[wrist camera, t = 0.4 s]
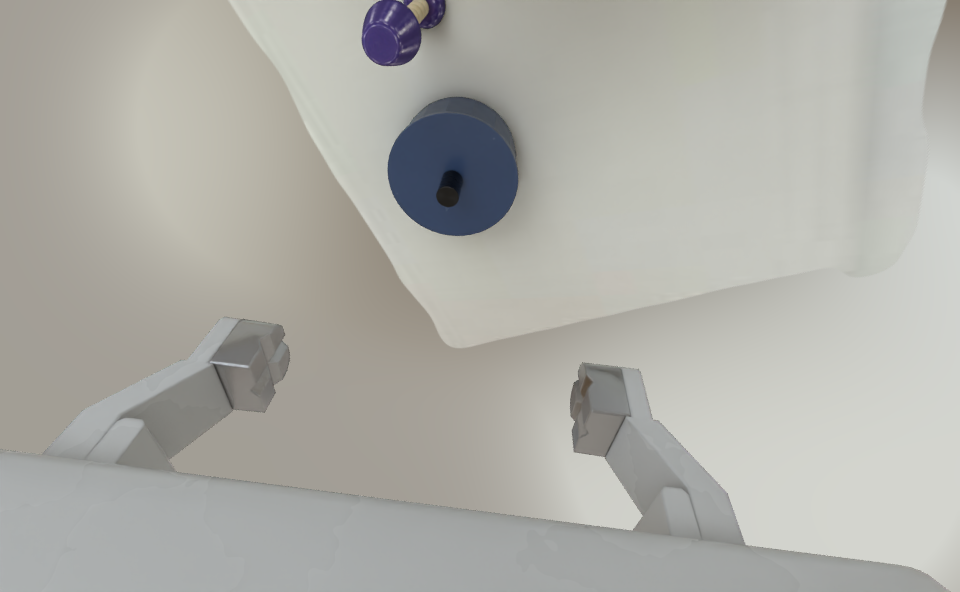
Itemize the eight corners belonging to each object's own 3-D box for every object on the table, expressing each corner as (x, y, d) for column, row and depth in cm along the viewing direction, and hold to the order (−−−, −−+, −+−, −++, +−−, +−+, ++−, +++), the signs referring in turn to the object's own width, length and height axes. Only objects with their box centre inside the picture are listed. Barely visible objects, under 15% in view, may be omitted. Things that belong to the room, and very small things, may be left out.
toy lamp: (442, 38, 48) (409, 82, 35) (398, 28, 48) (350, 70, 35) (447, -16, 45) (415, 11, 32) (401, -27, 45) (349, -3, 32)
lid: (388, 100, 47) (375, 117, 43) (528, 119, 47) (528, 138, 43) (391, 222, 56) (380, 245, 52) (508, 238, 56) (506, 262, 52)
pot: (405, 89, 52) (391, 107, 47) (523, 105, 52) (522, 125, 47) (405, 196, 60) (394, 221, 55) (506, 210, 60) (504, 236, 55)
